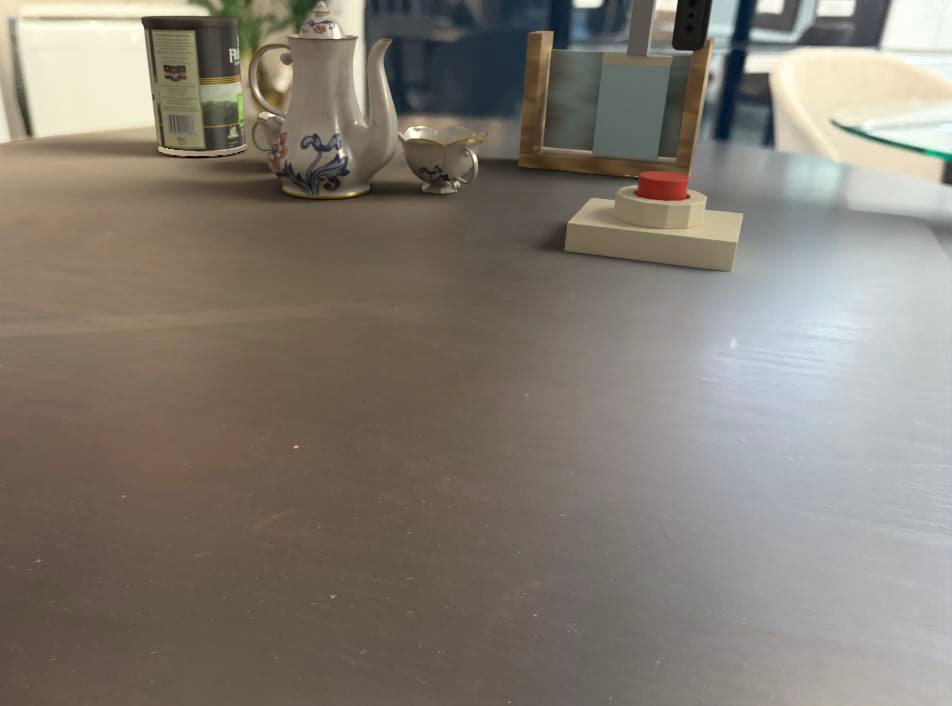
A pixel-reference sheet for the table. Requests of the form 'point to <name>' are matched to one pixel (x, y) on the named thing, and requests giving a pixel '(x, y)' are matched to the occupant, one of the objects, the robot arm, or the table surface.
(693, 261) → the button box
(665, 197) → the button
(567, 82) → the window frame
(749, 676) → the table surface
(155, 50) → the coffee can
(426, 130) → the chinaware
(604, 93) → the blue-grey flat panel
